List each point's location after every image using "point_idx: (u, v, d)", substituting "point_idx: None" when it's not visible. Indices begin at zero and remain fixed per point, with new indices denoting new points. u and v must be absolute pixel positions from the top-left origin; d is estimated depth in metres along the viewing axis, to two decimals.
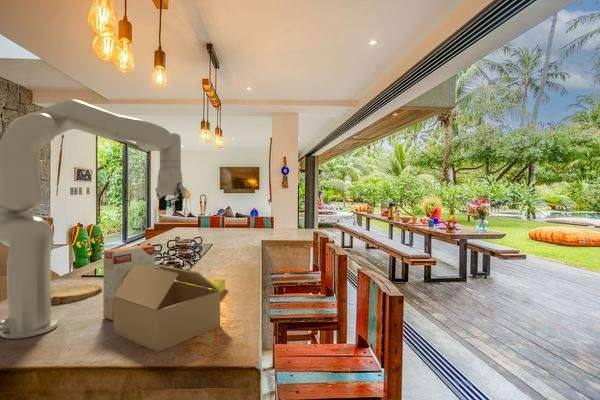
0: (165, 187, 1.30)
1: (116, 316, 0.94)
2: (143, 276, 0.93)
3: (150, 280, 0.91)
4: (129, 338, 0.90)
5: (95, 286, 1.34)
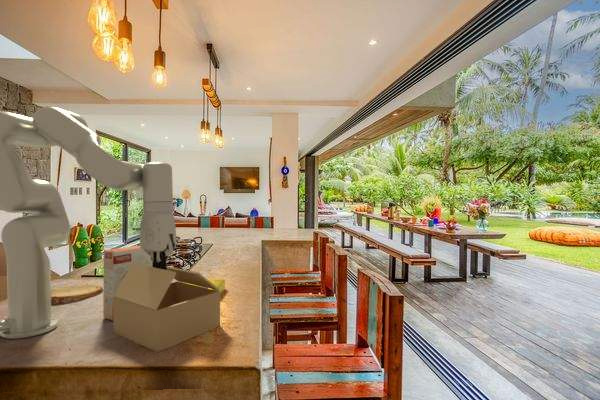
0: (151, 240, 0.91)
1: (116, 316, 0.94)
2: (142, 275, 0.93)
3: (148, 279, 0.91)
4: (129, 338, 0.90)
5: (96, 286, 1.34)
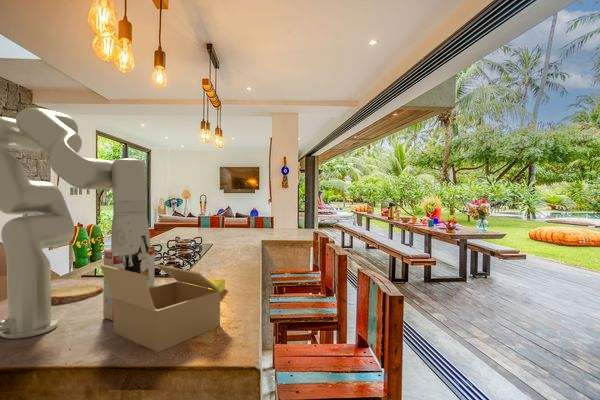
0: (122, 243, 0.84)
1: (116, 316, 0.94)
2: (118, 278, 0.88)
3: (126, 283, 0.86)
4: (129, 338, 0.90)
5: (96, 286, 1.33)
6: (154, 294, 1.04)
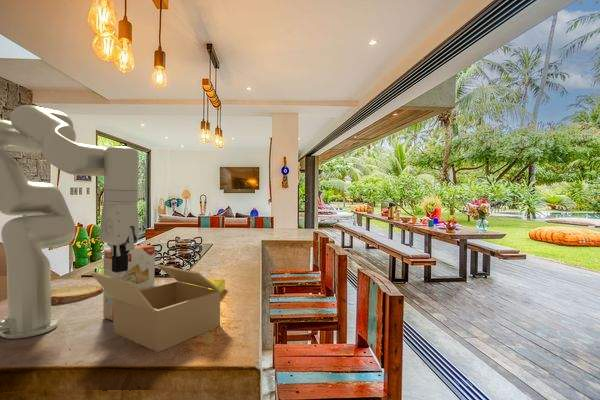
0: (111, 232, 0.83)
1: (116, 316, 0.94)
2: (111, 284, 0.86)
3: (120, 288, 0.84)
4: (129, 338, 0.90)
5: (96, 286, 1.33)
6: (154, 294, 1.04)
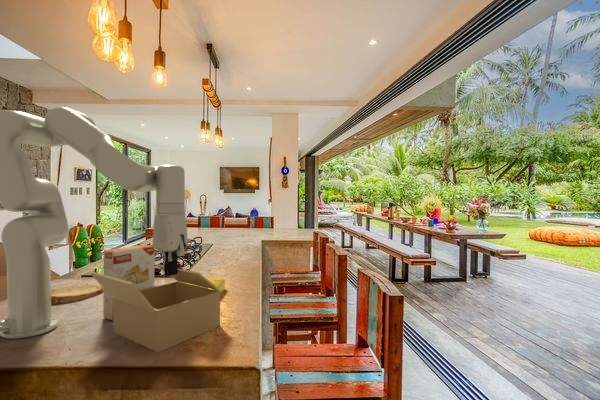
0: (163, 240, 0.95)
1: (116, 316, 0.94)
2: (111, 284, 0.86)
3: (120, 288, 0.84)
4: (129, 338, 0.90)
5: (97, 286, 1.33)
6: (154, 294, 1.04)
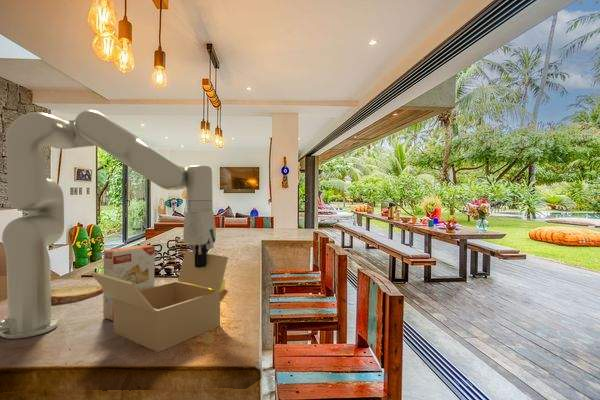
0: (194, 235, 1.02)
1: (116, 316, 0.94)
2: (111, 284, 0.86)
3: (120, 288, 0.84)
4: (129, 338, 0.90)
5: (97, 287, 1.33)
6: (154, 294, 1.04)
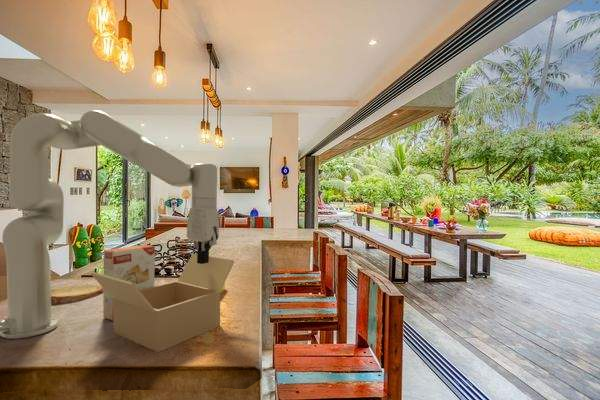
0: (198, 231, 1.04)
1: (116, 316, 0.94)
2: (111, 284, 0.86)
3: (120, 288, 0.84)
4: (129, 338, 0.90)
5: (97, 287, 1.33)
6: (154, 294, 1.04)
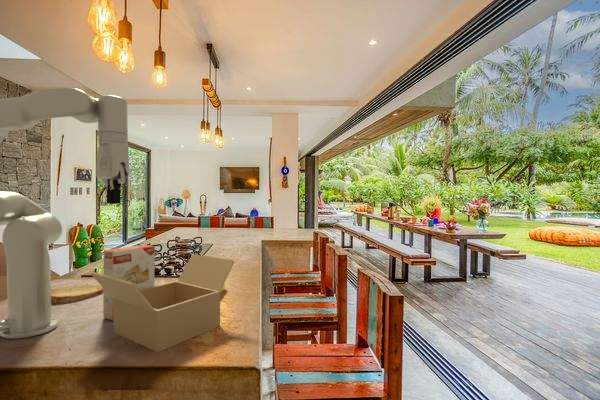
0: (105, 168, 0.98)
1: (116, 316, 0.94)
2: (111, 284, 0.86)
3: (120, 288, 0.84)
4: (129, 338, 0.90)
5: (98, 287, 1.33)
6: (154, 294, 1.04)
